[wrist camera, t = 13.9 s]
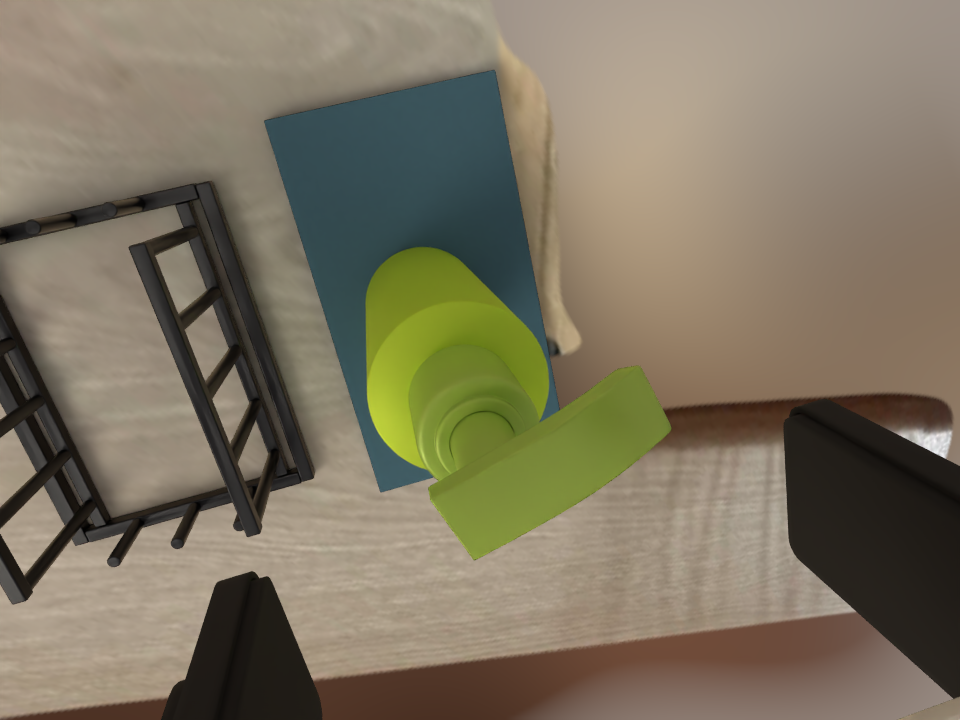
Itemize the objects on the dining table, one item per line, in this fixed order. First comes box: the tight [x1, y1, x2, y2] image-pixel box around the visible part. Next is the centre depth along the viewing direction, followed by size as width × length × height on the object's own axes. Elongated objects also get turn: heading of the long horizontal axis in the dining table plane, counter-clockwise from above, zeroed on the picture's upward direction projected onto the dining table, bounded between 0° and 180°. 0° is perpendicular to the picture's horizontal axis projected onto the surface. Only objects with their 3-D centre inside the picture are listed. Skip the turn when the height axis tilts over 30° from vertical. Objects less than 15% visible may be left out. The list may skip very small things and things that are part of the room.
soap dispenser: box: [366, 247, 671, 560], centre depth 23 cm, size 6×7×20 cm
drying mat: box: [264, 70, 560, 492], centre depth 32 cm, size 20×11×1 cm, turn 13°
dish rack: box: [0, 181, 315, 604], centre depth 27 cm, size 16×13×8 cm
